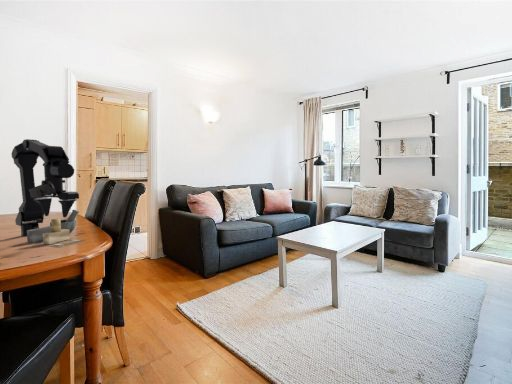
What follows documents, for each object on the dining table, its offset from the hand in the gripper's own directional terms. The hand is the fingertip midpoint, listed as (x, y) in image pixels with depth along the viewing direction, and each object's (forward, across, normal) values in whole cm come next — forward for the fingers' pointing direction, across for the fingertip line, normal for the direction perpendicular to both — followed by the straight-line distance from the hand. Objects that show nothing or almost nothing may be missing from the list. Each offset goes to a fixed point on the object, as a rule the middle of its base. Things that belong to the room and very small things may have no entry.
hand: (55, 216), depth 113 cm
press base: (+12, 0, 0) cm, 12 cm away
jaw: (+10, 0, 0) cm, 10 cm away
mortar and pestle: (+12, -12, +14) cm, 22 cm away
